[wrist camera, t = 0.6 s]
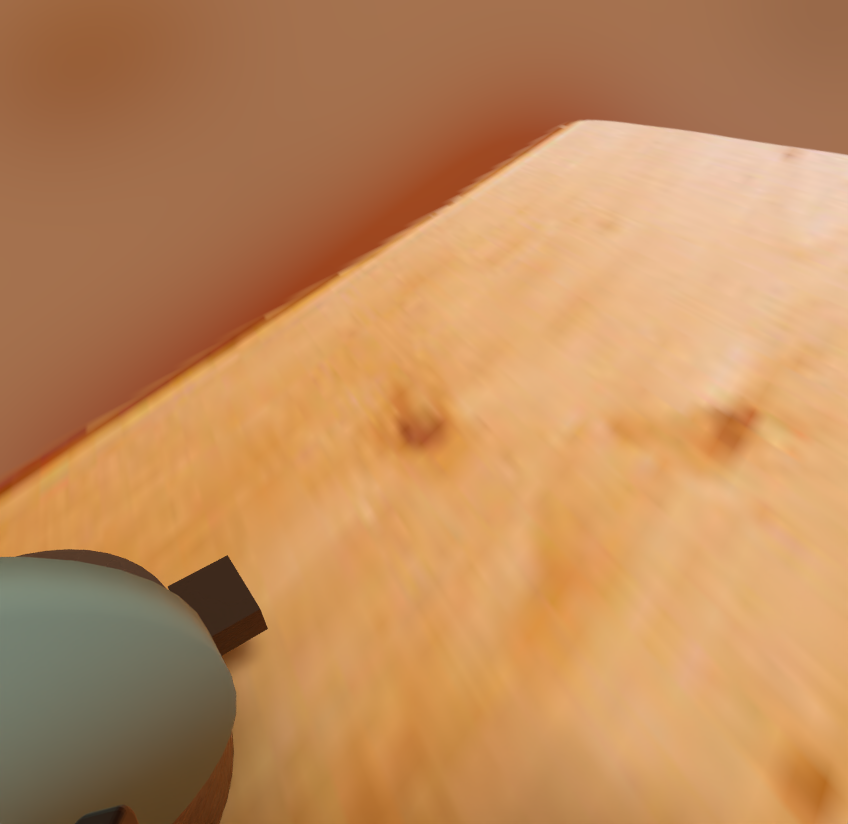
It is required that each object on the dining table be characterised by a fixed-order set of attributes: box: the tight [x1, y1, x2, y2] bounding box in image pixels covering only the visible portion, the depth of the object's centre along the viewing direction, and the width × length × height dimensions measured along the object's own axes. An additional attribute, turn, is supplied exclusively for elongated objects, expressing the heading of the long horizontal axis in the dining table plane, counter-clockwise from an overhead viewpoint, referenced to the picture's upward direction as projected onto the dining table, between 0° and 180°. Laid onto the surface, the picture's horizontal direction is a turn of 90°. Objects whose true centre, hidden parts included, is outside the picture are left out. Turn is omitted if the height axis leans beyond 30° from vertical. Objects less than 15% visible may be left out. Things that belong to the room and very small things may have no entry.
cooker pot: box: [17, 549, 268, 824], centre depth 21 cm, size 12×15×5 cm
